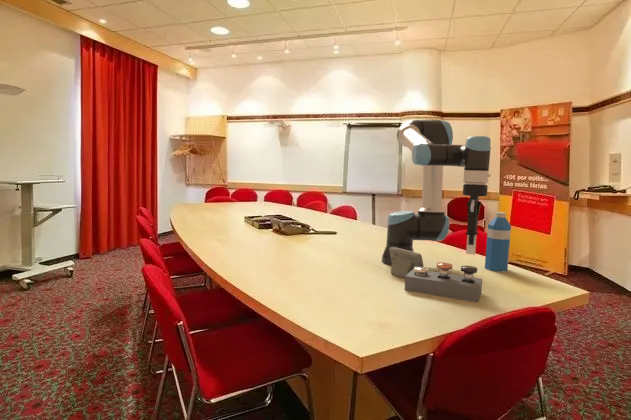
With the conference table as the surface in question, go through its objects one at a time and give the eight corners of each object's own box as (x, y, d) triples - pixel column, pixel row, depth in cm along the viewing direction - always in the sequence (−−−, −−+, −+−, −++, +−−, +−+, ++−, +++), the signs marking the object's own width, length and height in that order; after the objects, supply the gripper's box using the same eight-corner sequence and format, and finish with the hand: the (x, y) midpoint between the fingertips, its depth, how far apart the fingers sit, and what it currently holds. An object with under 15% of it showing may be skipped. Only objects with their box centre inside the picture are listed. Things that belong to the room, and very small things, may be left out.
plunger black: (459, 283, 129) (460, 268, 128) (461, 279, 134) (462, 264, 133) (475, 285, 127) (476, 270, 126) (477, 281, 131) (478, 267, 131)
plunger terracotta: (434, 279, 133) (435, 264, 132) (437, 275, 137) (438, 261, 137) (450, 281, 130) (451, 266, 130) (452, 278, 135) (453, 263, 134)
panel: (404, 289, 135) (405, 276, 134) (412, 281, 145) (413, 268, 145) (478, 302, 124) (479, 287, 123) (481, 292, 134) (482, 278, 134)
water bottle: (510, 272, 163) (515, 214, 160) (487, 270, 164) (491, 213, 162) (504, 267, 172) (509, 212, 169) (482, 265, 173) (486, 211, 171)
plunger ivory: (411, 283, 137) (412, 268, 136) (414, 279, 141) (415, 265, 141) (426, 285, 134) (426, 271, 134) (429, 281, 139) (429, 267, 138)
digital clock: (427, 280, 148) (429, 253, 147) (408, 282, 144) (410, 254, 143) (402, 269, 163) (403, 245, 161) (384, 271, 159) (385, 246, 158)
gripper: (486, 184, 119) (481, 258, 121) (489, 184, 131) (484, 251, 133) (460, 183, 122) (456, 255, 125) (465, 183, 134) (461, 249, 136)
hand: (470, 253), depth 129 cm, fingers closed
